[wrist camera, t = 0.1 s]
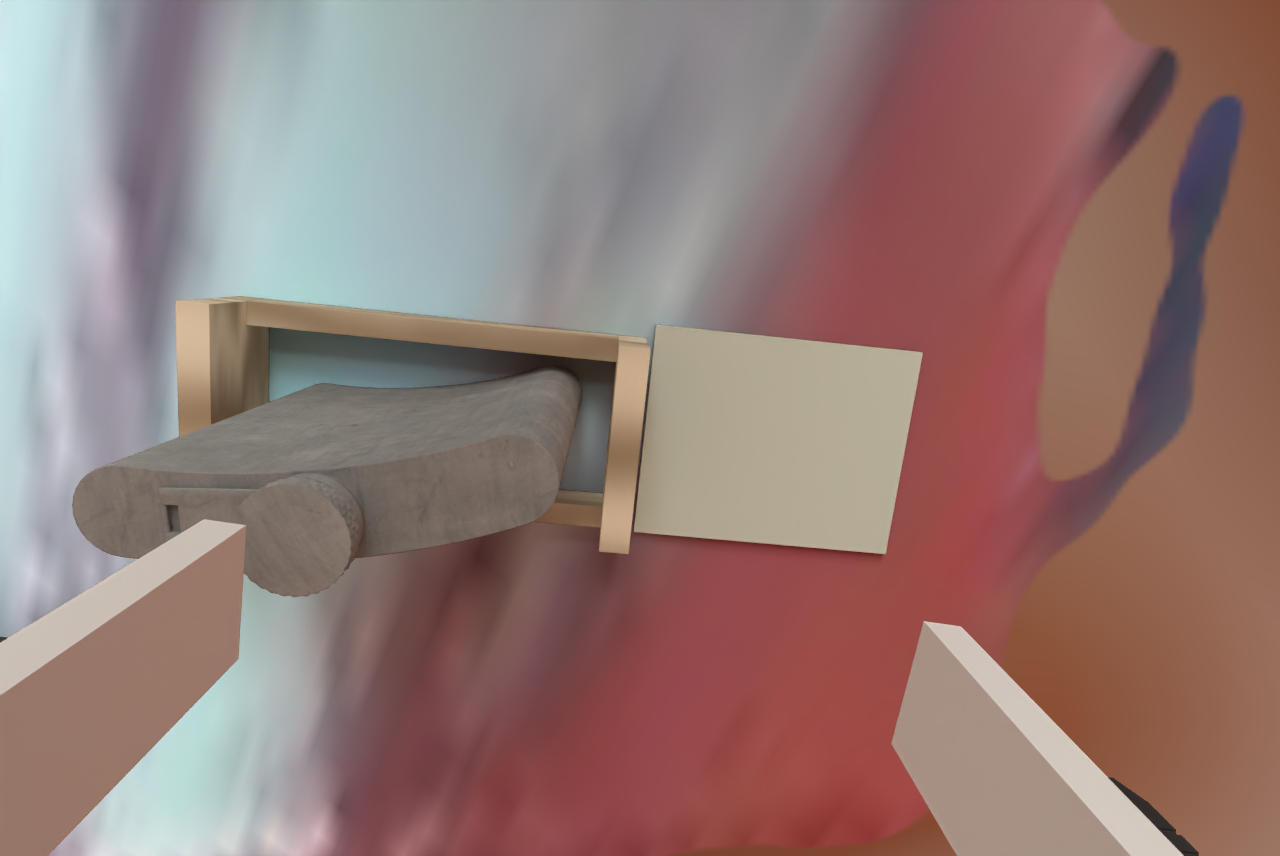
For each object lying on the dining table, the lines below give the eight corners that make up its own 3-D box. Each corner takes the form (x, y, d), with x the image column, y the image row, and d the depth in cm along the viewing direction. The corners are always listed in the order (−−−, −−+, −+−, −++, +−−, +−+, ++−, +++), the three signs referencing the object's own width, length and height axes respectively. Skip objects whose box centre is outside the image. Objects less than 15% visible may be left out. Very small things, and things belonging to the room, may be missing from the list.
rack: (240, 296, 40) (175, 300, 34) (645, 338, 41) (650, 349, 35) (241, 480, 42) (180, 515, 36) (626, 515, 43) (628, 554, 37)
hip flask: (579, 363, 41) (547, 449, 22) (585, 434, 42) (561, 578, 22) (293, 385, 41) (-3, 492, 21) (305, 456, 42) (32, 621, 22)
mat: (656, 324, 41) (656, 325, 40) (919, 351, 42) (922, 352, 41) (633, 528, 43) (633, 531, 43) (882, 550, 44) (885, 554, 43)
